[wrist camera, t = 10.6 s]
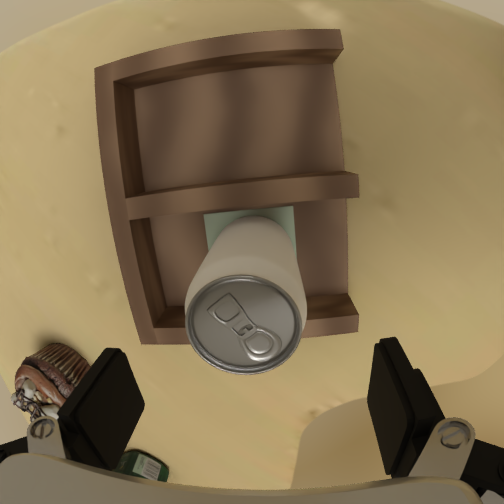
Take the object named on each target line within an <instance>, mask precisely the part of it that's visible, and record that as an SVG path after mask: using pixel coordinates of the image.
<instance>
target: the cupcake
mask: <svg viewBox="0 0 504 504" xmlns="http://www.w3.org/2000/svg"><path fill="white" fill-rule="evenodd" d="M90 368H91V366H90V365H89V364H88V363H87V361H86V360H85V359H84V358H82V357H81V356H80V355H79V354H78V353H77V352H76V351H75V350H73V349H72V348H70V347H68V346H67V345H64V344H60V343H59V344H58V343H56V344H50V345H48V346H47V347H45V348H43V349H42V350H40V351H38V352H37V353H35V354H33V355H31V356H29V357H26V358H25V360H24V361H23V362H22V364H21V366H20V367H19V368H18V370H17V372H16V375H15V389H16V392H15V393H14V394H12V397H11V401H12V402H13V405H16V406H17V407H18V408H20V409H21V410H22V411H24V412H25V411H27V412H29V413H30V414H31V417H30V421H31V422H32V421H34V420H35V419H36V418H39V417H41V416H51V417H54V418H55V419H56V420H57V419H58V418H59V416H58V415H57V412H58V410H59V409H60V408H61V406H62V405H63V404H64V402H65V401H66V400H67V398H68V397H69V395H70V394H71V393H72V391H73V390H74V389H75V387H76V386H77V385H78V383H79V382H80V381H81V379H82V378H83V377H84V375H85V374H86V373H87V372H88V370H89V369H90Z"/></svg>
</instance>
